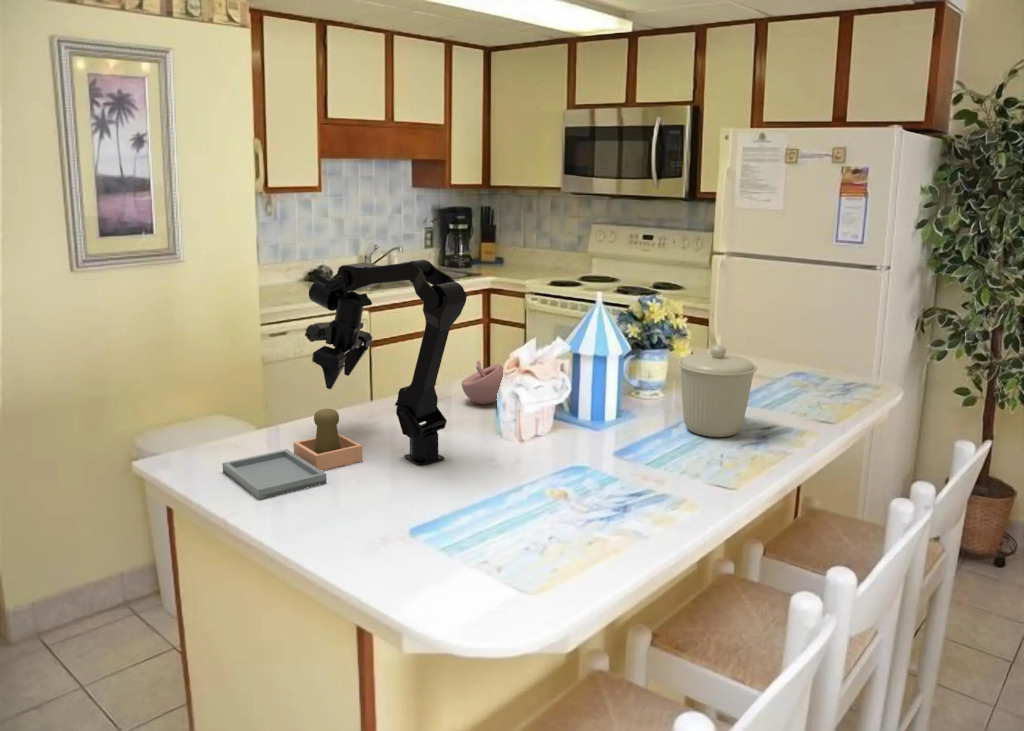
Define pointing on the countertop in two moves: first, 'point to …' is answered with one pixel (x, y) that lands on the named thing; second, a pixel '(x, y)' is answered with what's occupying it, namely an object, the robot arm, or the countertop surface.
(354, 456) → the holder
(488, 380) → the mortar and pestle
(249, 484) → the tray
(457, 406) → the countertop surface
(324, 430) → the olive tapered piece
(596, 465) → the countertop surface
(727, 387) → the canister
